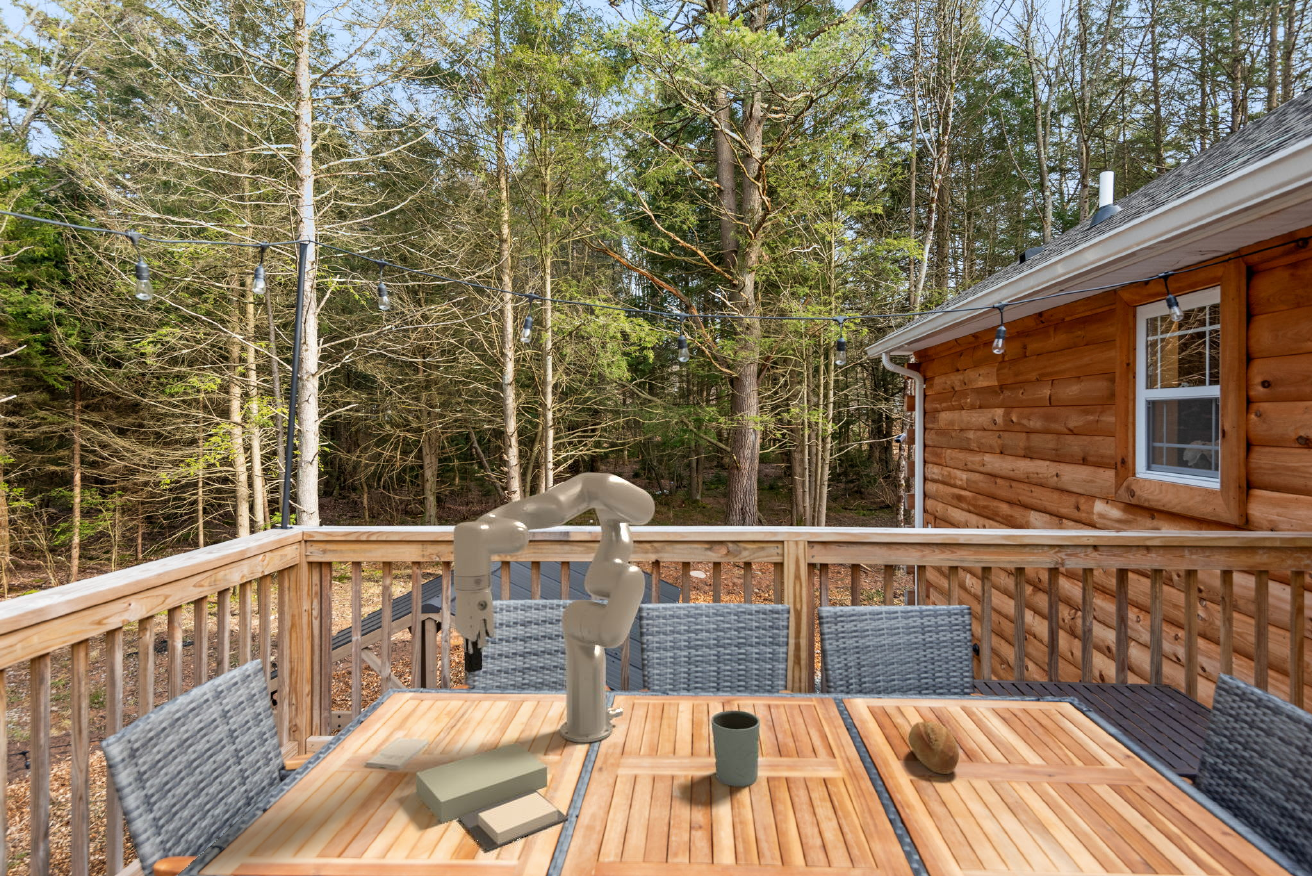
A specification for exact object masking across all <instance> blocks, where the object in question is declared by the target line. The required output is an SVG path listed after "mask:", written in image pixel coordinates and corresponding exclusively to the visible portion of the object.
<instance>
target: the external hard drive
mask: <svg viewBox="0 0 1312 876" xmlns="http://www.w3.org/2000/svg"><path fill="white" fill-rule="evenodd" d="M429 745H430V740H428V739H423V738H422V739H421V738H420V739H419V738H412V737H402V736H401V737H396V738H395V739H394V740H392V741H391V742H390V743H389V744H388V745H386V746H385V747H384V748H383V749H382V750H380V751H379V752H377V753H376V754H375V755H374V756H372V757H371V758H369V760H367V761H365V764H364V765H365V767H369V768H377V769H378V768H379V769H380V768H384V769H387V770H398V771H399V770H401V769H402V768H403V767H404V766H406V765H407V764H408V763H409V762H411V760H412V759H414V758H415V757H417V755H419V754H420V753H421V752H422V751H424V750H425V749H426V748H427V747H428V746H429Z"/></svg>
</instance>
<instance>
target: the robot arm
mask: <svg viewBox="0 0 1312 876" xmlns="http://www.w3.org/2000/svg"><path fill="white" fill-rule="evenodd" d="M654 501H655V500H654V499H653V496H651V494H649V493H648V492H647V491H646V490H644V489H642V488H641V487H638V486H637V485H635V484H633V483H631V482H629V481H627V480H626V479H624V478H622V477H619V476H618V475H615V474H613V473H605V472H604V473H603V472H602V473H601V472H582V473H580V474H578V475H575V476H573V477H571V478H569V479H567V480H565V481H563V482H561V483H560V484H557V485H556V486H554V487H552V488H549V489H547V490H546V491H544V492H541V493H537V494H534V495H531V496H528V497H524V498H520V499H518V500H515V501H512V502H509V503H506V504H503V505H501V506H499V507H497V508H495V509H492V510H491V511H488V512H487V513H484V514H483V515H481V516H480V517H478V519H476V520H475V521H466V522H459V523H457V524H456V526H455V527H454V528H453V591H454V592H455V593H456V594H455V605H454V606H455V607H454V608H455V609H454V621H455V626H454V627H455V631H456V633H458V634H460V638H462V641H463V642H462V643H463V651H464V671H465V672H467V673H468V674H471V673H475V672H480V671H483V652H484V648H486V647H487V645H488V644H487V638H489V639H493V638H494V637H495V632H496V631H495V614H494V603H493V602H494V601H493V597H492V591H491V590H492V556H495V555H498V556H499V555H501V556H503V555H504V556H505V555H507V556H508V555H510V556H511V555H515V554H517V553H520V552H522V551H523V550H524V549H525V548H526V547H527V545H529V541H530V531H532V530H544V529H545V530H546V529H550V528H551V529H552V528H556V527H559V526H561V525H564V524H565V523H567V522H569V521H570V520H572V519H574V518H576V517H578V516H579V515H581V514H583V513H585V512H587V511H588V510H590V509H595V514H596V515H597V518H598V522H599V524H600V531H601V534H600V541H599V544H598V547H597V549H596V551H595V553H594V556H593V559H592V560H591V563H590V564H589V568H588V569H587V572H586V574H585V579H584V589H585V591H586V592H587V594H589V595H590V596H592V597H595V598H597V599H600V600H601V599H602V600H605V601H607V603H606V604H605V603H602V602H597V601H595V600H594V601H593V600H588V599H577V600H574V601H572V602H570V603H569V604H568V605H567V606H566V607H565V608H564V611H563V613H562V616H561V628H562V634H563V640H564V645H565V646H564V647H565V660H566V661H565V668H566V669H565V675H566V677H565V679H566V680H565V682H566V685H565V689H566V702H565V703H566V721H565V722H563V723H562V724H561V725H560V727H559V728H560V729H559V733H560V735H561V737H562V738H564V739H565V740H567V741H569V742H570V741H571V742H575V743H592V742H598V741H601V740H604V739H606V738H607V737H609V736H610V735H611V734H612V733H613V728H614V727H613V724H612V722H611V721H612V720H613V719H615V718H619V717H623V715H624V712H623V709H622V708H621V707H618V708H615V709H613V707H611V706H609V707H607V686H606V685H607V682H606V679H607V675H606V674H607V673H606V672H607V670H606V667H607V661H606V660H607V659H606V652H605V649H615V648H618V647H620V646H621V645H622V644H624V642H625V640H626V639H627V636H628V635H629V633H630V630H631V629H632V626H633V623H634V621H635V618H636V616H637V613H638V611H639V607H640V605H641V603H642V600H643V597H644V594H645V590H646V589H645V588H646V578H645V574H644V572H643V571H642V569H641V568H640V567H638V566H637V565H635V564H633V563H629V561H630V558H631V557H632V553H633V551H634V539H633V535H632V532H631V528H630V526H629V525H631V526H643V525H646V524H648V523H649V522H651V520H652V519H653V517H654V515H655V509H656V506H655V502H654ZM604 648H605V649H604Z"/></svg>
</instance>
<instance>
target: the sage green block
mask: <svg viewBox="0 0 1312 876" xmlns="http://www.w3.org/2000/svg"><path fill="white" fill-rule="evenodd" d="M546 787H548V766H547V765H546V764H545V763H543V762H542V761H541V760H539V759H538V758H537V757H535V756H534V755H533V754H532V753H531V752H529V751H528V750H527V749H525V748H524V747H523V746H521V745H520V744H519V743H517V742H514V743H511V744H508V745H504V746H500V747H498V748H494V749H491V750H488V751H485V752H484V751H483V752H481V753H478V754H474V755H471V756H468V757H464V758H461V759H457V760H454V761H451V762H448V763H445V764H441V765H438V766H434V767H432V768H429V769H425V770H421V771H417V772H416V773H415V793H416V794H417V796H418V797H419V798H420V799H421V801H422V802H423V803H424V804H425V805H426V806H427V808H428V809H429V810H430V811H431V812H432V814H433V815H434V816H435V818H437V820H438V821H439V823H440V824H444V823H447V822H450V821H453V820H455V819H458V817H460V816H463V815H465V814H468V813H471V812H474V811H477V810H480V809H482V808H485V807H488V806H491V805H494V804H496V803H499V802H502V801H505V800H508V799H511V798H513V797H516V796H519V795H522V794H525V793H527V792H530V791H533V790H536V791H537V790H541V789H543V788H546Z"/></svg>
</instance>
